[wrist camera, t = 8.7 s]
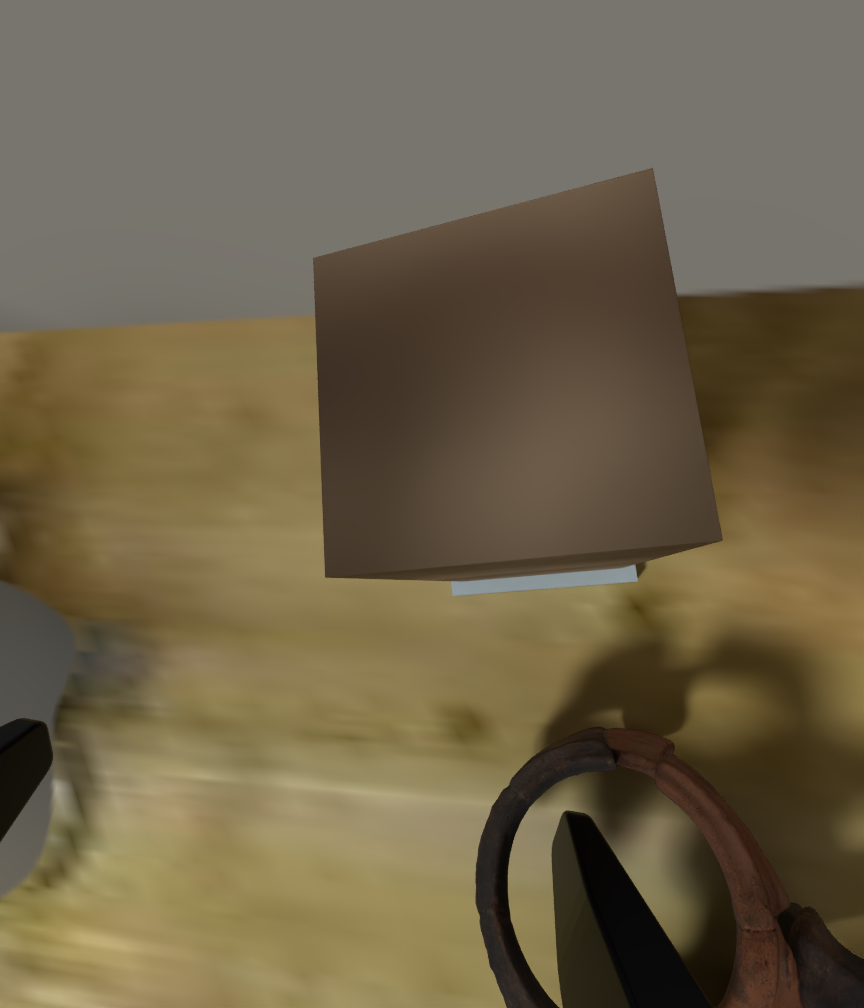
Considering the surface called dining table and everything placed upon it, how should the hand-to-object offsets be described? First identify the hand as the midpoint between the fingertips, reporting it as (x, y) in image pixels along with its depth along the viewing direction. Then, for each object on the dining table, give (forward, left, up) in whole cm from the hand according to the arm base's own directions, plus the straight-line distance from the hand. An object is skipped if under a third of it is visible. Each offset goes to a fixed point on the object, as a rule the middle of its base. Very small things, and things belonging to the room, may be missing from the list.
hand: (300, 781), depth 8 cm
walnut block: (+2, -7, -11) cm, 14 cm away
